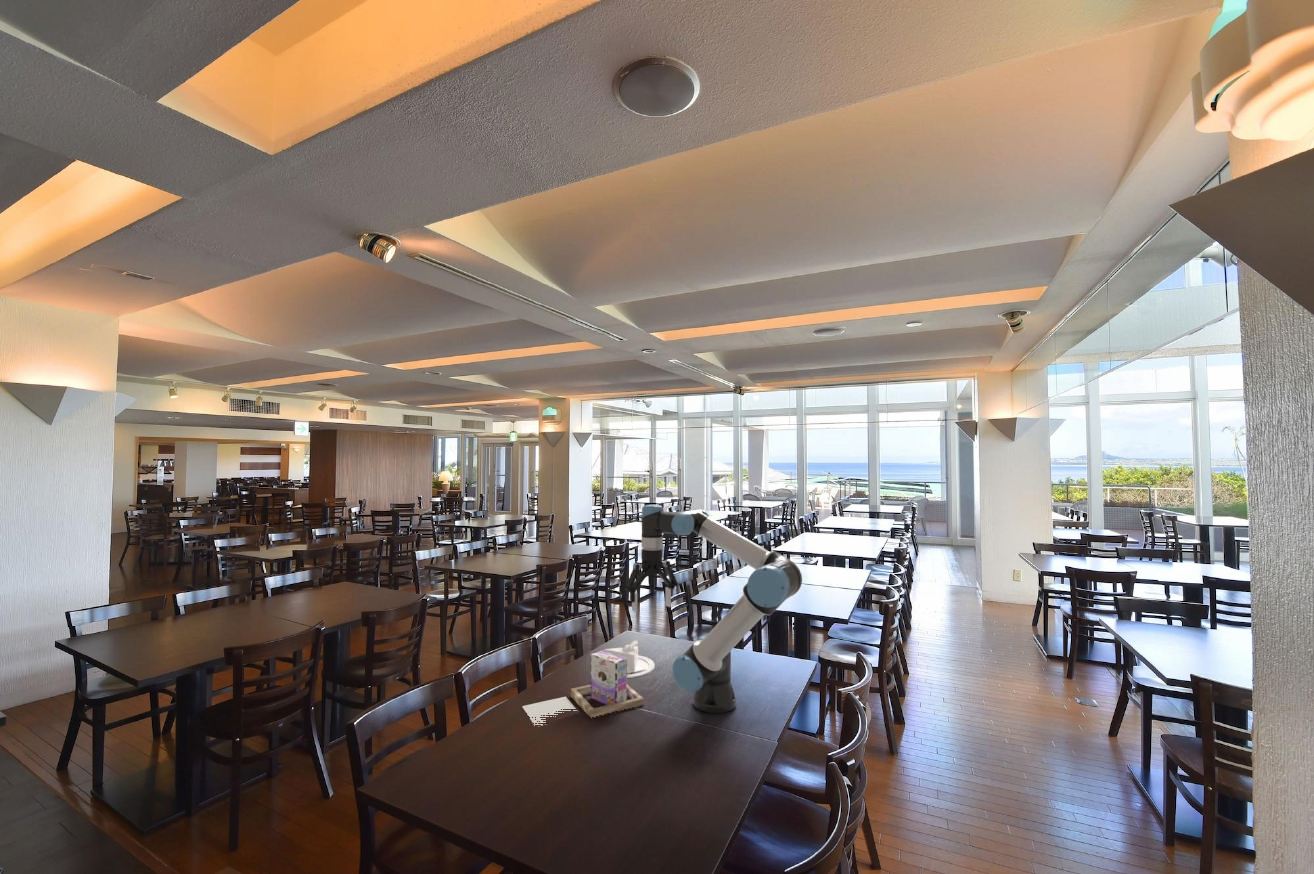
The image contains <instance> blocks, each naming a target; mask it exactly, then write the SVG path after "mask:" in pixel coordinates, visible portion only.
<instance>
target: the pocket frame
mask: <svg viewBox="0 0 1314 874" xmlns="http://www.w3.org/2000/svg"><path fill="white" fill-rule="evenodd" d="M588 695H591V684H587V685H582V686H577V687H574V688H573V687H572V688H570V698H572V699H573V700H574V701H575V702H576V704H577V705H578V706H579V707H580V708H581V709H582V710H583V712H585V713H586V714H587V716H588V717H589V718H590V717H591V718H590V719H593V718H592V717H594V718H597V717H596V716H598V717H600V716H599V715H602V716H605V715H604V714H606V713H610V714H613V713H612V712H614V713H616V712H615V711H618V712H621V710H622V711H625V710H624V709H626V710H629V708H630V709H633V708H632V707H634V708H637V707H641V705H642V706H644V705H645V699H644V697H643V696H642V695H640V694H639V693H638V692H637V691H636V690H635V689H633V688H632V687H631V686H630V685H629V684H627V697H629V698H630V699H627V701H623V702H618V703H614V704H610V705H606V704H605V705H602V706H599V707H593V706H592V705H591V704H590V703H589V702H588V701H587V700H586V698H585V697H584V696H588ZM606 715H607V714H606Z"/></svg>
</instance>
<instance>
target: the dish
mask: <svg viewBox="0 0 1314 874" xmlns="http://www.w3.org/2000/svg"><path fill="white" fill-rule="evenodd" d="M638 644H639V643H638V640H633V641H632V642H631V643H629V644H626V645H625V644H624V646H623V647H613V648H604V649H603V651H605V652H608V653H610V654H613V655H616V656H619V657H622V658H625V659H627V679H633V678H638V677H639V678H640V677H643V676H646V675H647V674H650V673H651V672H653V671H654V670H655V666H656V664H655V661H653V660H652V659H650V658H649V657H647V656H643V655H639V645H638ZM631 673H632V674H631Z"/></svg>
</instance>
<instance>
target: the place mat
mask: <svg viewBox="0 0 1314 874" xmlns="http://www.w3.org/2000/svg"><path fill="white" fill-rule="evenodd" d="M521 707H522V709H523V710H524V712H525V713H527V714H526V715H527V716H529V717H530V718H529V717H528V718H529V719H530V721H531V722H532V724H533V723H534V724H533V726H535V725H541V726H544V725H543V724H538V723H546V722H543V721H546V720H541V719H546V718H540V717H549V716H546V715H558V714H554V713H562V712H558V711H571V710H563V709H577V708H576V707H575V706H574V704H573V703H572V702H571V701H570V700H569V699H568V698H567V696H562V697H559V698H553V699H548V700H544V701H539V702H535V703H531V704H527V705H523V706H521ZM561 709H562V710H561ZM556 711H557V712H556ZM573 711H578V709H577V710H573ZM548 713H549V714H548ZM563 713H564V712H563ZM541 715H542V716H541ZM543 715H545V716H543ZM532 717H533V718H532ZM535 717H536V718H535ZM550 717H552V716H550ZM553 717H554V716H553ZM555 717H556V716H555ZM535 719H536V720H535ZM537 721H538V722H537ZM539 721H540V722H539ZM535 723H537V724H535Z"/></svg>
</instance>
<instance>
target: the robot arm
mask: <svg viewBox="0 0 1314 874" xmlns="http://www.w3.org/2000/svg"><path fill="white" fill-rule="evenodd" d="M640 518H641V548H642V549H641V551H640V552H641V559H640V560H641V563H636V562H635V563H633V565H632V570H631V573H630V576H629V578H628V580H627V583H626V584H625V587H624V590H625V591H626V592H629V601H630V602H631V611H632V612H634V613H638V592H637V590H638V589H639V588H640V586H641V585H642V583H643V582H644V580H645V579H646V578H647V577H648V576H649V577H651V576H659V577H660V579H661V580H662V581H663V582H664V583H665V585H666V586H667V587H666V586H665V606H666V607H668V608H671V607H672V597H674V596H673V595H674V589H675V587H677V586H678V585H679V583H678V581H677V579H676V576H675V574H674V572H673V570H672V568H671V561H670V560H666V559H664V560H663V549H662V548H663V534H669V535H678V536H688V535H690V534H691V533H692V532H693V533H695V534H697V535H698V536H699V537H701V538H703V539H705V540H707V541H708V542H710V543H711V544H713V545H714V546H716V547H718V548H719V549H722V550H723V551H725V552H727V554H730V555H732V556H733V557H735V558H736V559H738V560H739V561H740V562H742V563H744V564H747V566H749V567H751V568H753V569H754V571H753V572H752V573H750V576H749V578H748V580H747V582H746V584H745V585H744V586H743V588H742V592H743V595H742V596H741V597H740V598H739V599H738V600H737V601H736V603H735V604H734V605H733V606H732V607H731V608H730V609H729V611H728V612H726V614H724V616H723V617H722V618H721V619H720V620H719V622H718V623H717V624H716V625H715V626H714V627H713V628H712V629H711V630H710V631H709V633H708V634H707V635H701V636H699V637H698V639H697V640H696V641H694V642H693V643H692V645H690V647H689V648H687V650H686V651H685V652H684V653H683V654H682V655H681V654H680V655H679V656H678V657H676V659H675V660H674V661H673V663H672V676H673V678H674V680H675V682H676V684H677V685H678V687H680V688H681V689H682V690H683V691H685V692H688V693H693V694H692V704H693V706H694V708H696V709H698V710H699V711H702V712H705V713H708V714H724V713H729V712H731V711H733V710H734V709H735V708H736V705H737V703H736V701H737V700H736V695H735V692H734V688H733V685H732V678H731V677H732V672H731V670H732V666H731V665H732V664H731V663H732V662H731V661H732V657H731V656H732V650H733V649H734V648H735V647H736V645H737V644H738V643H739V642H740V641H741V640H742V639H743V638H744V637H745V636H746V635H747V634H748V633H750V631H751V629H752V628H754V627H755V625H756V624H758V622H759V621H760V620H761V619H762V618H763V617H764V616H772V615H773V613H775V612H776V611H777V609H778V608H779V607H780V606H781V605H782V604H783V603H784V602H785V601H786V600H787V599H789V598H791V597H793V596H794V595H796V594H797V593H798V592H799V590H800V589H801V586H802V584H803V583H802V582H803V576H802V572H801V570H800V568H799V566H797V564H796V563H794V562H793V561H792V560H791V559H789V558H787V557H786V556H784V555H782V554H781V553H779V552H777V551H775V550H772V551H768V549H766V548H764V547H762V546H760V545H759V544H757V543H755V542H754V541H752V540H750V539H748V538H747V537H745V536H742V535H741V534H739V533H737V532H736V531H734V530H732V529H731V528H728V527H727V526H725V525H724V524H722V523H720V522H718V521H716V520H715V519H713V518H712V517H710V515H709V513H708V512H707V511H706V510H704V509H700V508H694V509H690V510H682V511H664V509H663V506H662V505H660V504H645V505H643V506H642V509H641V517H640ZM662 567H664V569H665V571H666V574H667V575H666V574H665V572H663V569H662ZM641 569H642V570H641ZM639 571H640V572H639ZM728 711H729V712H728Z"/></svg>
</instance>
